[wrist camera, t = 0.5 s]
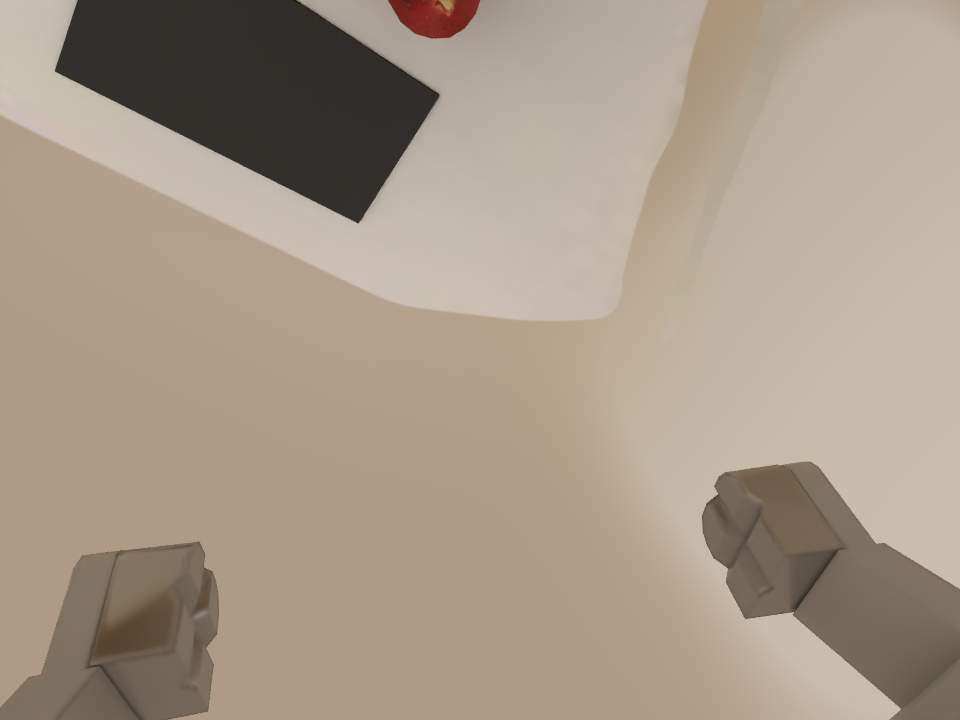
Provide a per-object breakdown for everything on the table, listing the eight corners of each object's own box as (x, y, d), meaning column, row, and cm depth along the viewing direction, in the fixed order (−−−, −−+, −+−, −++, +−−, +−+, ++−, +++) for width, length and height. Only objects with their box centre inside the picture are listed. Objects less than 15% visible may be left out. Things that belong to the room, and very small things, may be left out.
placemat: (55, 69, 43) (54, 71, 42) (116, -118, 37) (115, -117, 37) (358, 221, 54) (358, 223, 53) (439, 94, 48) (439, 95, 48)
